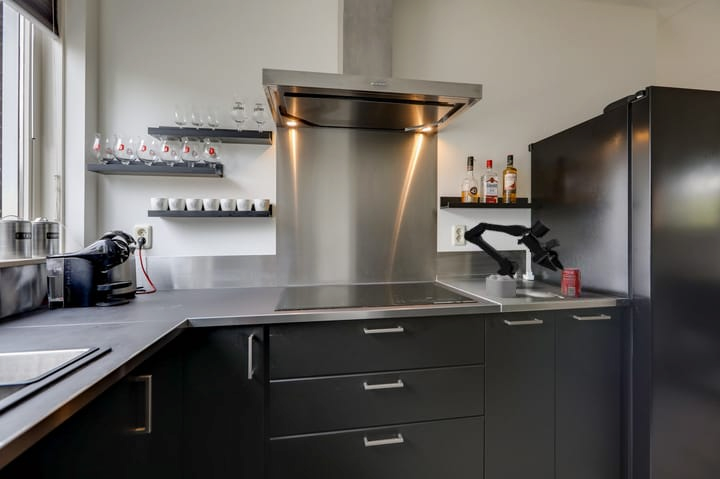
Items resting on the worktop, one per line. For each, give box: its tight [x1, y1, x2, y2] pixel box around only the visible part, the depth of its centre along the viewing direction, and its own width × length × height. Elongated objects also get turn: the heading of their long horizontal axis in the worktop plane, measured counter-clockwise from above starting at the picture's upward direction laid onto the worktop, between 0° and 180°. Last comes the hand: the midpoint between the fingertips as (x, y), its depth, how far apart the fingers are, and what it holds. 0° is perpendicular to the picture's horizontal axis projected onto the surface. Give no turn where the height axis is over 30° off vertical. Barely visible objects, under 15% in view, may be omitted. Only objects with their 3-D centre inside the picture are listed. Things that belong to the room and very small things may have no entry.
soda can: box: [560, 267, 582, 298], centre depth 136 cm, size 7×7×12 cm
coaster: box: [525, 291, 556, 299], centre depth 138 cm, size 11×11×1 cm
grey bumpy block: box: [485, 274, 517, 299], centre depth 138 cm, size 10×13×9 cm
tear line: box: [547, 292, 565, 299], centre depth 137 cm, size 12×1×1 cm, turn 175°
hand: (560, 270), depth 140 cm, fingers open, 9 cm apart
